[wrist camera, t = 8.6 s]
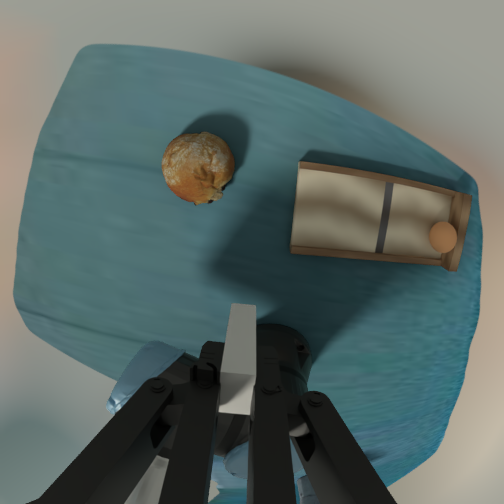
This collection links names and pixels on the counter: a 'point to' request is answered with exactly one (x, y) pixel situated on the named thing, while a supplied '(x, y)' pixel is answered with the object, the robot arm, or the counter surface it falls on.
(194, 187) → the bread roll
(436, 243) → the ball
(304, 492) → the moka pot
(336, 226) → the lane
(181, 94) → the counter surface
